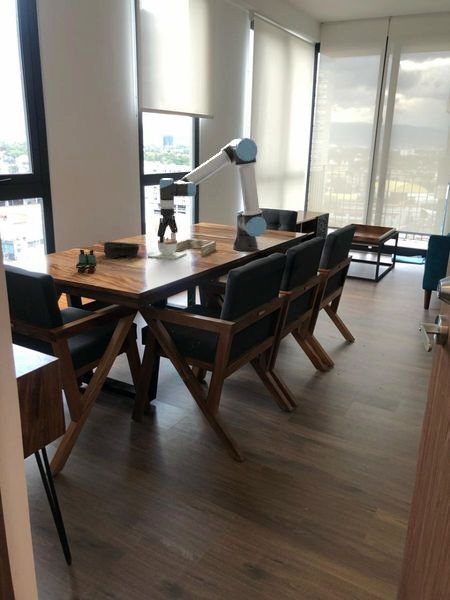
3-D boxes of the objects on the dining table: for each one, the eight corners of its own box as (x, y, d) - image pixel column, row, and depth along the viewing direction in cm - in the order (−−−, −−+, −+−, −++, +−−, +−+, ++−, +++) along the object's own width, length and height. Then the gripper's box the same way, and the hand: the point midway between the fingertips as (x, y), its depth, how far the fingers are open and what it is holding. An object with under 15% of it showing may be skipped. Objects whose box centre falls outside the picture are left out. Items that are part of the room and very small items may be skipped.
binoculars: (73, 254, 229) (78, 248, 238) (75, 275, 233) (80, 268, 242) (92, 254, 229) (97, 248, 238) (94, 276, 233) (98, 269, 242)
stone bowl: (100, 261, 259) (99, 243, 257) (99, 254, 283) (98, 238, 281) (147, 258, 266) (146, 241, 263) (142, 252, 289) (141, 237, 287)
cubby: (215, 249, 297) (215, 241, 296) (203, 255, 279) (203, 247, 278) (186, 246, 303) (186, 238, 302) (172, 252, 286) (172, 244, 284)
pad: (186, 254, 281) (186, 253, 280) (174, 260, 266) (174, 258, 266) (161, 252, 286) (161, 250, 286) (147, 257, 271) (147, 255, 271)
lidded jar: (173, 256, 270) (173, 239, 267) (155, 255, 272) (154, 238, 269) (179, 253, 280) (179, 236, 277) (161, 251, 282) (161, 235, 279)
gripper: (171, 205, 281) (171, 241, 287) (150, 210, 258) (151, 249, 265) (183, 205, 278) (183, 242, 285) (162, 210, 256) (163, 251, 262)
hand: (168, 246), depth 275 cm, fingers open, 13 cm apart
